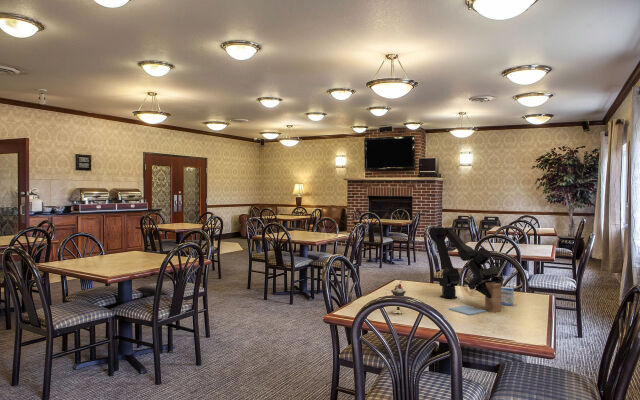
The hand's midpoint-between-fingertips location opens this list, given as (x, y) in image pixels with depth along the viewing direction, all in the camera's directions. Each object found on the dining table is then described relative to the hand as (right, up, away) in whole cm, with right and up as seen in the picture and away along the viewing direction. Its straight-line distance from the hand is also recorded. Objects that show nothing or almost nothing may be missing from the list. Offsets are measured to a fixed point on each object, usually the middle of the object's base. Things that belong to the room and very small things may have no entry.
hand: (495, 297), depth 219 cm
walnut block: (-1, -7, +1) cm, 7 cm away
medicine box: (+10, -7, +14) cm, 19 cm away
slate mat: (-13, -6, 0) cm, 15 cm away
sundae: (-47, -6, -5) cm, 48 cm away
